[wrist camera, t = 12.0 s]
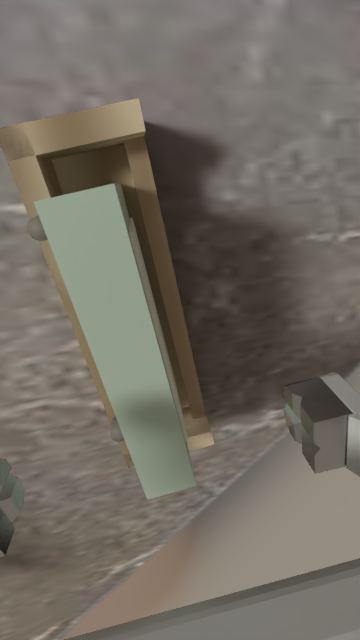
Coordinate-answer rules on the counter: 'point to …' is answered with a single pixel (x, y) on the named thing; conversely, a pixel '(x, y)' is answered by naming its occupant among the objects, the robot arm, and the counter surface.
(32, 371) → the counter surface
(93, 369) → the drawer
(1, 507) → the robot arm
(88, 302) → the rectangular block
